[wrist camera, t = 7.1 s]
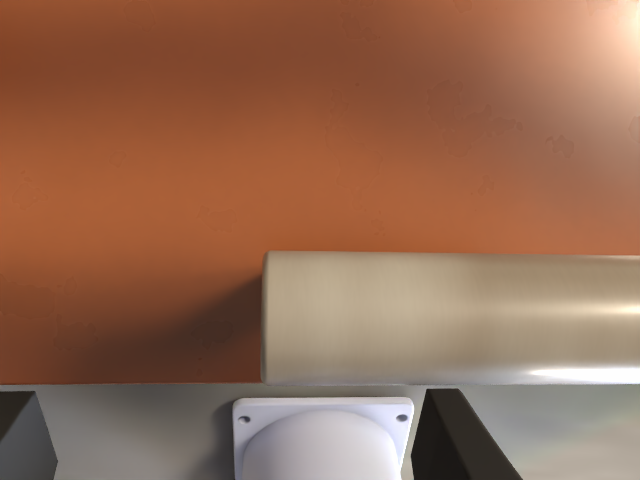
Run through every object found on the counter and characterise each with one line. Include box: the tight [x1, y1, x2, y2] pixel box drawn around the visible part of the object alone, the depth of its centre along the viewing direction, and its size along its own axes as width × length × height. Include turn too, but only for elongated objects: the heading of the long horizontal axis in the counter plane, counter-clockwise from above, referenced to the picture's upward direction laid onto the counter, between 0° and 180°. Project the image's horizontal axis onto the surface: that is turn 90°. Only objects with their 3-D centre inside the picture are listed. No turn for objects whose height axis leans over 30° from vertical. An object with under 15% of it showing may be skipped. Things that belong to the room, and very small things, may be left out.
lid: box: [0, 0, 640, 386], centre depth 8 cm, size 10×16×5 cm
